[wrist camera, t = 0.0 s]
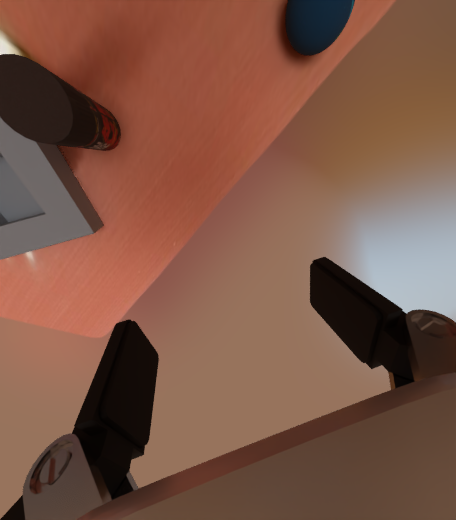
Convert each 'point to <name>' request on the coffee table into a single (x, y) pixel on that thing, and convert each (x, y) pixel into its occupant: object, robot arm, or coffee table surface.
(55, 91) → the deodorant
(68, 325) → the coffee table surface
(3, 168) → the socket block
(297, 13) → the christmas ornament
